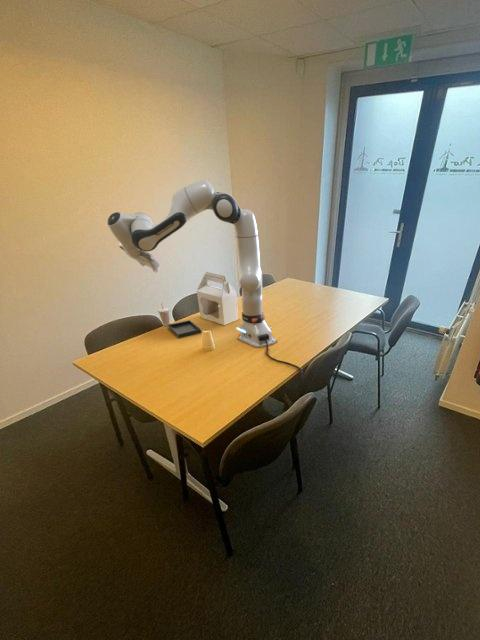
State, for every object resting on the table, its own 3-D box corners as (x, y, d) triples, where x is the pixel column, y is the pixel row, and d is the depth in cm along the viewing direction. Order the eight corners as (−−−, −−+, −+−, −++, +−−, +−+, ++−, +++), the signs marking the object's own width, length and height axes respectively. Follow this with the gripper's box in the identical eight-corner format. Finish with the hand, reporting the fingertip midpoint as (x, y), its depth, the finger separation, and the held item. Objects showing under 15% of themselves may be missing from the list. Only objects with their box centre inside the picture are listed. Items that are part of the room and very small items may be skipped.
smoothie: (167, 322, 187) (163, 300, 179) (174, 324, 184) (170, 302, 176) (159, 325, 182) (154, 302, 174) (165, 327, 179) (160, 305, 171)
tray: (201, 332, 175) (200, 329, 174) (178, 338, 168) (177, 334, 167) (190, 323, 186) (189, 320, 184) (168, 328, 179) (167, 324, 178)
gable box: (200, 317, 195) (193, 273, 179) (214, 311, 204) (210, 269, 188) (224, 325, 184) (220, 279, 169) (239, 319, 194) (236, 275, 178)
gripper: (153, 249, 141) (167, 271, 154) (125, 236, 147) (140, 257, 160) (144, 259, 139) (159, 279, 152) (116, 244, 145) (132, 265, 158)
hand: (149, 268), depth 156 cm, fingers open, 8 cm apart
